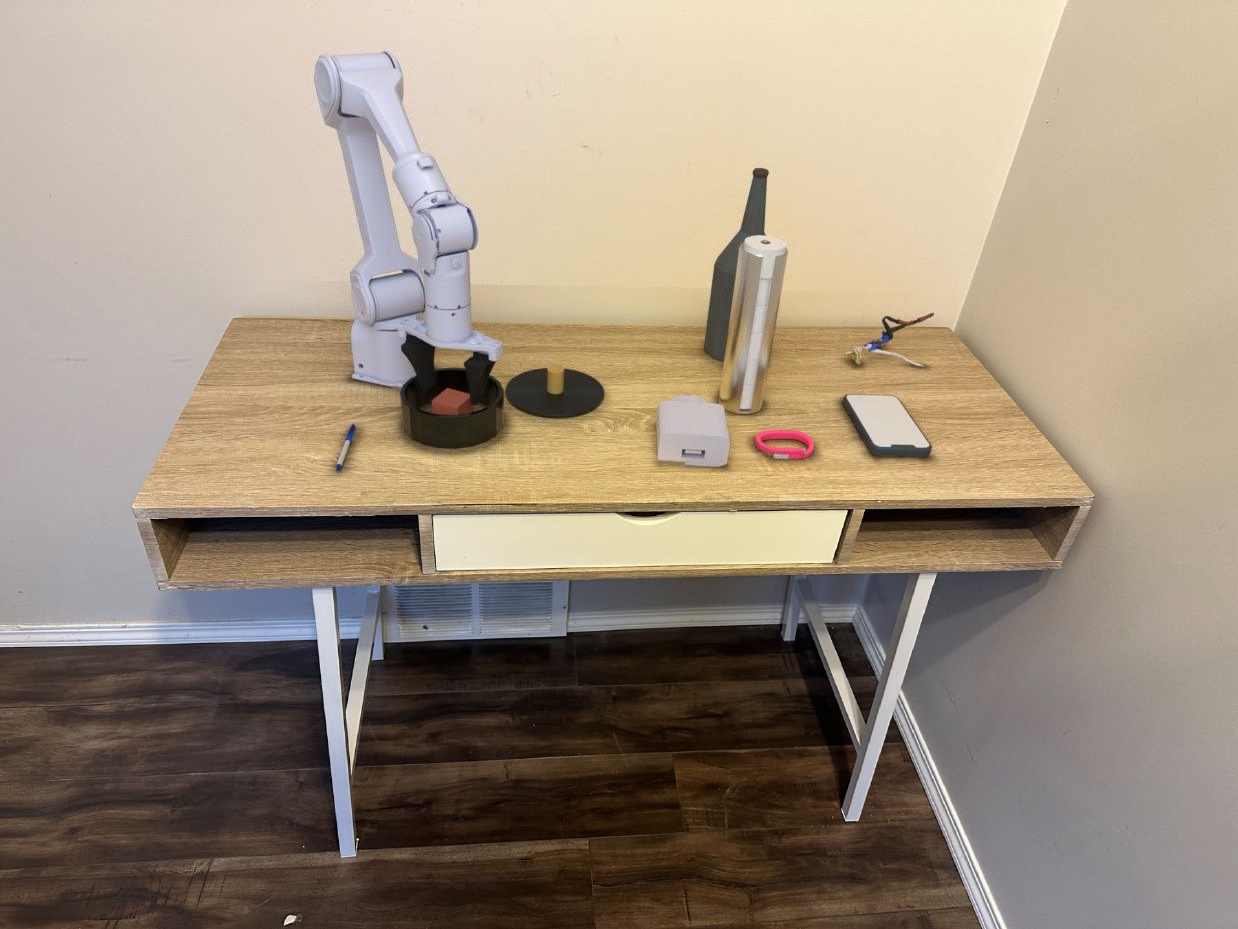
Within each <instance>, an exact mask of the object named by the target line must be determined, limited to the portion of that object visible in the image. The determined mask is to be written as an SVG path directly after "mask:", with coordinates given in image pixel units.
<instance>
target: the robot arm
mask: <svg viewBox="0 0 1238 929" xmlns="http://www.w3.org/2000/svg"><path fill="white" fill-rule="evenodd" d="M316 60H317V61H316V62H315V65H314V74H313V83H314V87H315V91H316V96H317V100H318V104H319V109H320V113H321V116H322V118H323V122H324V125H325V126H328V127H330V128H332V129H334V130H336V134H337V136H338V141H339V145H340V149H341V152H342V157H343V163H344V167H345V171H346V176H347V180H348V184H349V188H350V194H351V197H352V203H353V206H354V210H355V214H356V219H357V224H358V228H359V233H360V237H361V238H360V239H361V243H362V247H363V250H364V254H363V256H362V257H361V258H360V260H359V261H358V262H357V263H356V264H355V265H354V266H353V268H352V269H351V271H350V272H349V282H350V287H351V288H350V289H351V290H350V296H351V302H352V307H353V309H354V312H355V314H356V316H357V317H356V318H355V319H354V321H353V322H352V326H351V329H350V345H351V354H352V363H353V371H354V373H353V374H351V378H352V379H353V380H358V381H362V382H367V383H371V384H375V385H379V386H384V387H385V386H386V387H391V388H395V387H399V388H402V386H403V385H404V384H405V383H406V382H407V381H408V380H409V379H410V378H412V377H414V376H416V375H417V378H418V381H419V383H420V386H421V389H422V391H424V392H427V391H428V390H429V389H430V388H432V387H433V386H434V381H435V373H434V369H435V354H436V348H439V349H448V350H459V351H463V352H467V353H471V354H472V355H471V356H470V357H469V358H467V359H466V360H465V361H464V362H463V366H464V368H465V369H466V372H467V375H468V379H469V386H470V401H471V404H472V405H473V406H478V405H479V404H481V403H480V402H481V401H482V400H483V397H484V392H485V387H486V384H487V381H488V378H489V375H491V373H492V371H493V369H494V367H495V365H496V363H497V361H499V360H500V359H501V358H502V357H503V356H504V349H503V348H504V345H503V344H504V343H503V342H502V341H500V340H496V339H494V338H492V337H489V336H488V335H486V334H484V333H481V332H480V331H478V330H475V329H473V326H472V324H473V323H472V292H471V291H472V290H471V259H470V258H471V255H470V252H469V251H473V250H475V249H476V248H477V246H478V244H479V226H478V221H477V218H476V215H475V214H474V211H473V209H472V207H471V206H470V205H469V203H467V202H465V201H463V199H461V197H460V196H458V195H454V194H453V192H452V189H451V188H450V186H449V184H448V182H447V181H446V180H447V179H446V178H445V176H444V174H443V172H442V170H441V168H440V166H439V164H438V162H437V161H436V159H435V157H434V155H432V154H430V153H428V152H424V151H422V150H421V148H420V144H419V142H418V139H417V137H416V134H415V133H414V130H413V127H412V124H411V122H410V118H408V115H407V113H406V110H405V107H404V104H403V102H404V93H405V88H404V87H405V86H404V84H405V82H404V75H403V70H402V66H401V64H400V62H399V60H398V59H397V58H396V56H395V55H394V54H393V53H392V52H391V51H389V50H385V51H381V52H368V53H367V52H366V53H349V54H331V55H329V54H327V53H325V54H324V53H323V54H321V55H319V56H318V58H317V59H316ZM377 136H378V137H377ZM378 138H379V140H380V141H381V144H382V145H383V146H384V148H385V150H386V151H387V153H388V155H389V156H390V158H391V159H392V161H393V163H394V166H393V168H392V171H391V178H392V180H393V183H394V184H395V187H396V189H397V190H398V192H399V194H400V196H401V199H402V200H403V203H404V205H405V207H406V208H407V210H408V213H409V214H410V216H411V219H412V226H411V227H410V228H411V235H412V239H413V243H414V245H415V248H416V253H417V259H416V258H415V257H413V256H411V255H410V254H408V253H407V252H404V251H403V250H402V249H401V244H400V240H399V239H400V238H399V235H398V230H397V226H396V221H395V216H394V212H393V207H392V201H391V197H390V193H389V189H388V188H389V187H388V184H387V178H386V173H385V170H384V165H383V160H382V156H381V151H380V147H379V142H378ZM400 271H401V272H400ZM393 272H398V273H394V274H389V273H393ZM383 274H384V275H383ZM385 274H389V275H385ZM380 275H383V276H380ZM376 276H378V277H376ZM424 313H425V320H424Z"/></svg>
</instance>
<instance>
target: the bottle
mask: <svg viewBox="0 0 1238 929" xmlns="http://www.w3.org/2000/svg"><path fill="white" fill-rule="evenodd" d="M769 174H770V170H768V169H767V168H763V167H754V168H753V170H752V180H751V183H750V188H749V192H748V196H747V199H746V204H745V209H744V211H743V212H744V213H743V217H742V220H741V225H740V229H739V230H738V231H737V232H736V234H735V235H734V236H733V238H732V239H731V240H730V241H729V243H727V245H726V246H725V247H724V249H723V250H722V251H721V252H720V253H719V255H718V256H717V257H716V260H715V262H714V263H713V272H712V277H711V278H712V280H711V289H710V296H709V302H708V303H709V304H708V311H707V318H706V319H707V320H706V328H705V336H704V343H703V350H704V352H705V354H706V355H709V356H710V357H711V358H712V360H716V361H719V362H722V363H724V357H725V350H726V342H727V335H728V328H729V321H730V313H731V306H732V299H733V292H734V285H735V277H736V270H737V263H738V256H739V248H740V245H741V244H742V243H743V242H744V241H745V239H746V238H748V237H750V236H757V235H763V236H767V234H766V231H765V228H766V208H767V190H768V188H767V186H768V176H769Z"/></svg>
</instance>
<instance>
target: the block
mask: <svg viewBox="0 0 1238 929" xmlns="http://www.w3.org/2000/svg"><path fill="white" fill-rule="evenodd" d="M431 410H432V412H431V413H434V414H443V415H458V414H467V413H471V412H474V405H472V404H471V401H470V394H468V393H464V392H460V391H457V390H453V389H449V388H447V389H446V390H444V391H443V392H442V393H441V394H439V395H438V396H437V397H436V398H434V399H433V400H432V403H431Z"/></svg>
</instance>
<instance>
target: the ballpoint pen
mask: <svg viewBox="0 0 1238 929" xmlns="http://www.w3.org/2000/svg"><path fill="white" fill-rule="evenodd" d="M355 432H356V425H355V424H354V423H352V424H351V426H350V427H349V430H348V433H347V435H346V437H345V440H344V444H343V447H342V449H341V451H340V455H339V456H338V457H339V458H338V460H337V462H336V466H335V470H336V471H340V470H341V469H342V467H343V464H344V461H345V458H346V455H347V454H348V450H349V447H350V445H351V443H352V441H353V437H354V434H355Z"/></svg>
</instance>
